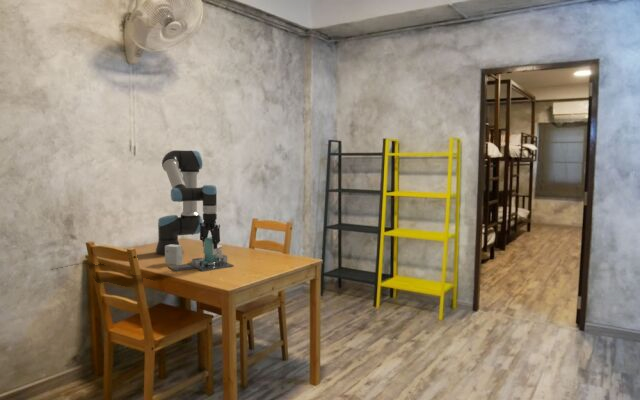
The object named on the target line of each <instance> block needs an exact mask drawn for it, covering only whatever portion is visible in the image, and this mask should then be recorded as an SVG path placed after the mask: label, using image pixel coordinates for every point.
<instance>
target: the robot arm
mask: <svg viewBox="0 0 640 400" xmlns="http://www.w3.org/2000/svg"><path fill="white" fill-rule="evenodd" d="M161 167H162V169H163V171H164V172H166V174H167V177H168V180H169V183H170V186H171V189H170V199H171V201H172V202H178V203H181V202H182V212H181V213H180V216H179V217H178V214H171V215H165V216H161V217H159V218H158V223H157V227H158V229H157V230H158V241H157V243H156V244H157V245H156V248H155V254H156V255H162V256H165V246H166V245H170V244H173V245H180V242H179V236H188V235H189V236H191V235H192V236H193V235H198V234H199V241H202V247H203V254H205V252H204V239H205V238H209V237H208V236H209V233H210V234H211V237H212V240H213V243H212V255H215V254H217V243H218V242H219V243H220V242H221V230H220V229H221V225H220V224H218V223H217V221H216V220H217V217H218V215H217V212H218V210H217V194H218V193H217V192H218V191H217V186H216V185H214V184H213V185H212V184H205V185H203V186H201V187H198V184H197V183H198V181H197V180H198V178H197V177H198V174H199V173H200V170H202V168H203V157H202V155H201V153H200V152H199V151H198V150H170V151H169V152H168V153H166V154H165V155H164V156H163V158H162V162H161ZM200 201H201V202H202V216H200V213H199V212H198V207H197V206H198V202H200Z"/></svg>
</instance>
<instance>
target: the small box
mask: <svg viewBox="0 0 640 400" xmlns="http://www.w3.org/2000/svg"><path fill="white" fill-rule="evenodd" d="M164 261H165V262H164V264H165V265H171V266H175V265H182V264H184V261H183V245H182V244H179V245H173V244H170V245H166V246H165V255H164Z"/></svg>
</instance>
